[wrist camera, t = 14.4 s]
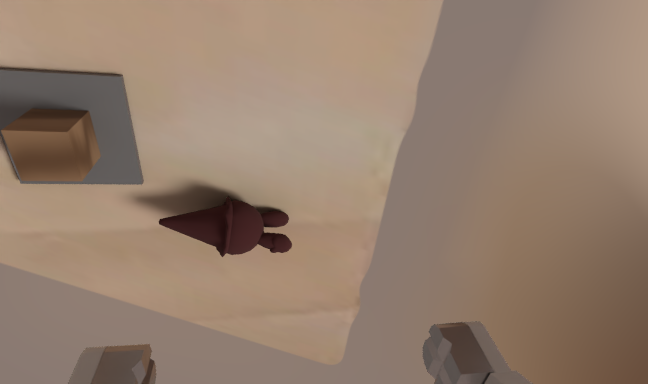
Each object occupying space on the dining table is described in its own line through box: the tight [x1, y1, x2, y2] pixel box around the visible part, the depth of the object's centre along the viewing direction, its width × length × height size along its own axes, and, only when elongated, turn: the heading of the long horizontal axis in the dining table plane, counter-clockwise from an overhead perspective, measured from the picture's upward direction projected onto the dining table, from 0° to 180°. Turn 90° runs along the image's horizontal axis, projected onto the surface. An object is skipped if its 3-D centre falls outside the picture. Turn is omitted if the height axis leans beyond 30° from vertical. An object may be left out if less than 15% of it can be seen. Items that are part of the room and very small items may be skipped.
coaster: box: [0, 68, 144, 184], centre depth 37 cm, size 12×12×1 cm
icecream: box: [159, 197, 292, 257], centre depth 43 cm, size 7×7×15 cm
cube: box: [1, 109, 101, 181], centre depth 34 cm, size 5×5×5 cm
